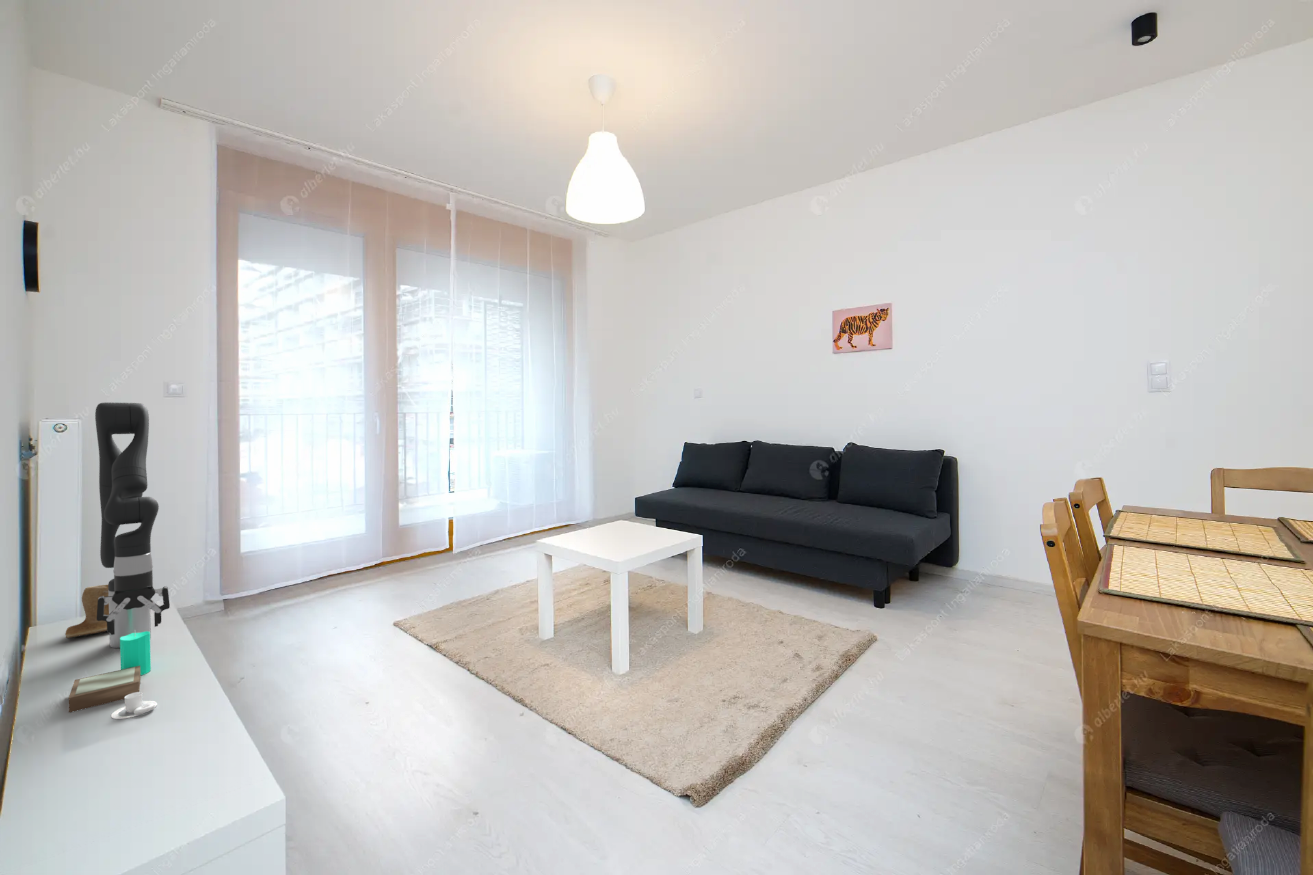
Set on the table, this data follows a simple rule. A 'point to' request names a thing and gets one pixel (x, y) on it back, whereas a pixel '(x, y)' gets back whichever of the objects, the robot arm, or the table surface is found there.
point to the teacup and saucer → (134, 706)
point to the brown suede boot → (90, 613)
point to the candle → (136, 651)
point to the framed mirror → (104, 688)
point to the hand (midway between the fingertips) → (134, 629)
